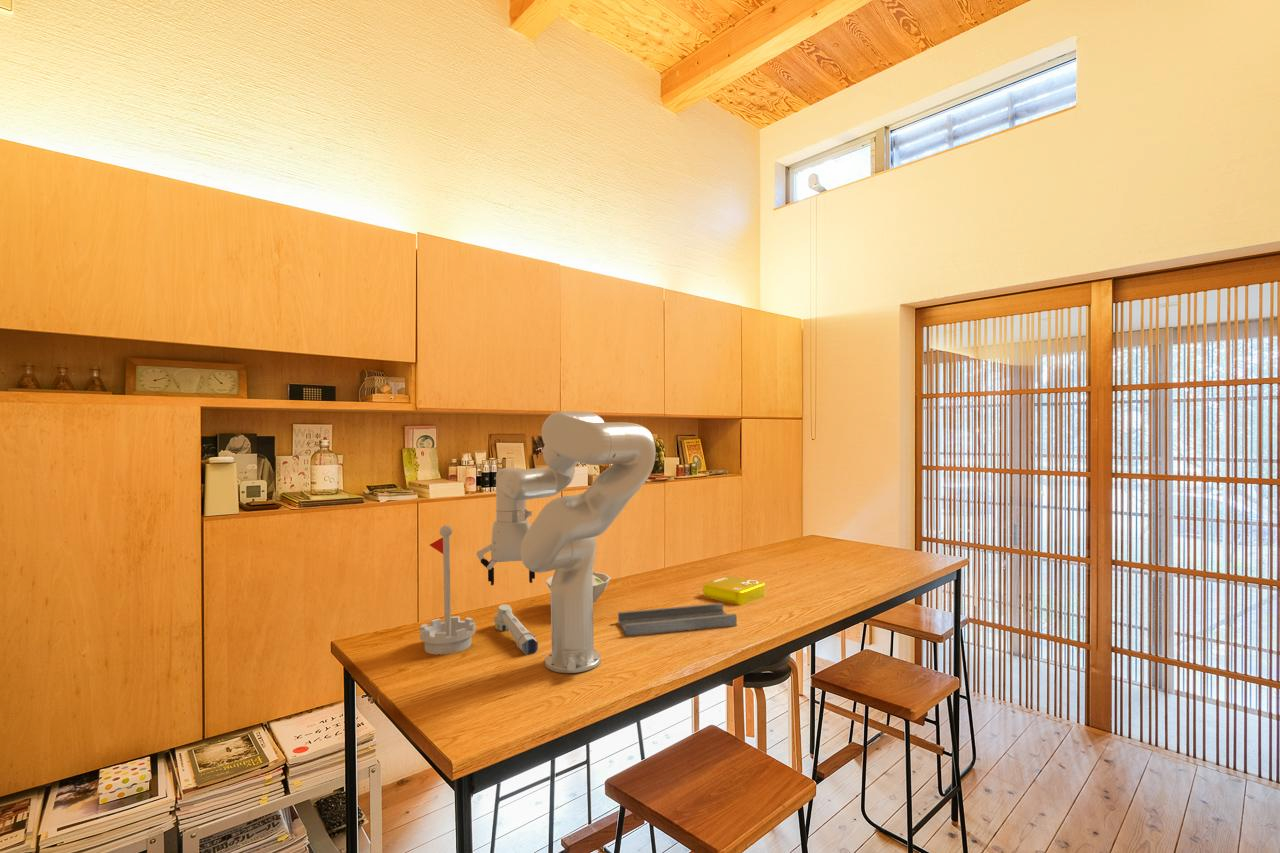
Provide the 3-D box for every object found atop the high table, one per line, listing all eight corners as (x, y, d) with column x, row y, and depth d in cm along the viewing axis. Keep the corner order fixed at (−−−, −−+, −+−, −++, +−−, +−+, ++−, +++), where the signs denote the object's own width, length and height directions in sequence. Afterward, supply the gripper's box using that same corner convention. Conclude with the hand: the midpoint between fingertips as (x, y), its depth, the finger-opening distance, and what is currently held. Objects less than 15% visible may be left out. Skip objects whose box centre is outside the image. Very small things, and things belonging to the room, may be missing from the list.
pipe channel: (736, 625, 156) (736, 615, 156) (626, 636, 149) (626, 625, 149) (721, 612, 167) (721, 603, 167) (618, 622, 160) (618, 612, 160)
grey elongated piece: (519, 641, 137) (491, 600, 159) (519, 667, 138) (491, 624, 160) (541, 636, 140) (510, 597, 162) (540, 663, 141) (510, 620, 162)
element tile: (729, 588, 195) (728, 573, 195) (768, 596, 184) (767, 581, 184) (700, 597, 184) (700, 582, 184) (740, 607, 173) (739, 591, 173)
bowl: (589, 596, 187) (589, 564, 187) (624, 610, 171) (623, 576, 171) (534, 608, 175) (534, 574, 176) (566, 624, 160) (565, 587, 160)
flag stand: (485, 639, 149) (483, 522, 149) (453, 658, 137) (450, 530, 137) (443, 634, 154) (441, 520, 154) (408, 652, 141) (406, 528, 142)
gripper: (544, 512, 156) (544, 577, 156) (477, 515, 152) (477, 581, 152) (546, 517, 148) (546, 584, 148) (475, 520, 145) (476, 589, 145)
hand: (511, 582), depth 150 cm, fingers open, 9 cm apart
